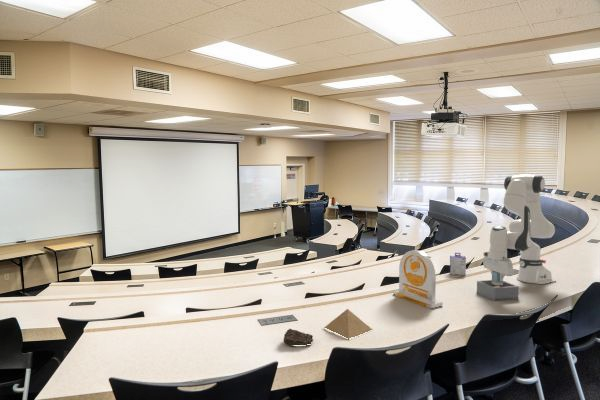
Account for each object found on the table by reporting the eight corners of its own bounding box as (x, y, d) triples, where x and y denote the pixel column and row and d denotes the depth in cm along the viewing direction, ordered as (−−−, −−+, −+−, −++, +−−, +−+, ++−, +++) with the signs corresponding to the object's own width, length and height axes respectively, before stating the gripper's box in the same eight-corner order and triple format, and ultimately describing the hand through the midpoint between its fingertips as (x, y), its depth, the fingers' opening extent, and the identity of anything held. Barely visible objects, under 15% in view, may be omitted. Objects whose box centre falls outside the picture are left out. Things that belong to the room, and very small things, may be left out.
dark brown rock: (280, 346, 160) (280, 334, 160) (290, 337, 170) (290, 325, 169) (306, 351, 156) (306, 338, 156) (315, 341, 165) (315, 329, 165)
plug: (497, 283, 225) (498, 271, 225) (502, 285, 221) (503, 272, 221) (491, 283, 224) (492, 271, 224) (496, 285, 221) (496, 273, 220)
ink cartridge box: (464, 273, 273) (464, 252, 272) (466, 275, 268) (466, 254, 267) (449, 272, 275) (449, 252, 274) (450, 274, 270) (451, 253, 269)
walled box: (499, 291, 232) (499, 279, 232) (518, 298, 218) (518, 286, 217) (476, 292, 229) (477, 280, 229) (494, 300, 215) (494, 288, 214)
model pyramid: (345, 320, 189) (345, 299, 188) (374, 331, 176) (374, 309, 175) (320, 329, 178) (320, 307, 178) (348, 341, 165) (348, 318, 164)
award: (392, 294, 227) (393, 247, 225) (404, 292, 231) (404, 245, 229) (430, 309, 202) (431, 256, 200) (442, 306, 207) (443, 254, 205)
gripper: (516, 259, 212) (515, 284, 213) (490, 251, 232) (490, 274, 233) (506, 259, 211) (505, 285, 212) (481, 252, 231) (480, 275, 232)
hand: (497, 279), depth 223 cm, fingers closed on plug, 4 cm apart
